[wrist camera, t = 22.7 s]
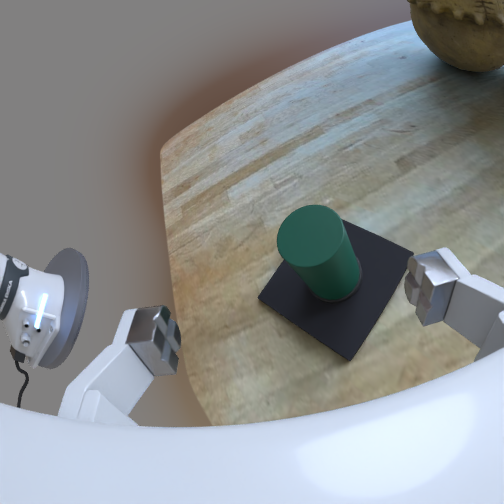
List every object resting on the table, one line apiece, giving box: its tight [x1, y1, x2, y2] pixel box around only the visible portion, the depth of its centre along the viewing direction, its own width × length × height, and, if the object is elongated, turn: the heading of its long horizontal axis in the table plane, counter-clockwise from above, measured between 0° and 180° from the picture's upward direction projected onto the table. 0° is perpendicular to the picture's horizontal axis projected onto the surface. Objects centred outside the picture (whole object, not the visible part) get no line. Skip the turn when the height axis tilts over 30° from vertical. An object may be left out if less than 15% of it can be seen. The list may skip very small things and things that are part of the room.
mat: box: [258, 219, 414, 361], centre depth 29 cm, size 12×12×1 cm
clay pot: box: [407, 0, 504, 72], centre depth 23 cm, size 21×21×20 cm
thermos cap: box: [277, 205, 362, 304], centre depth 25 cm, size 6×6×9 cm
